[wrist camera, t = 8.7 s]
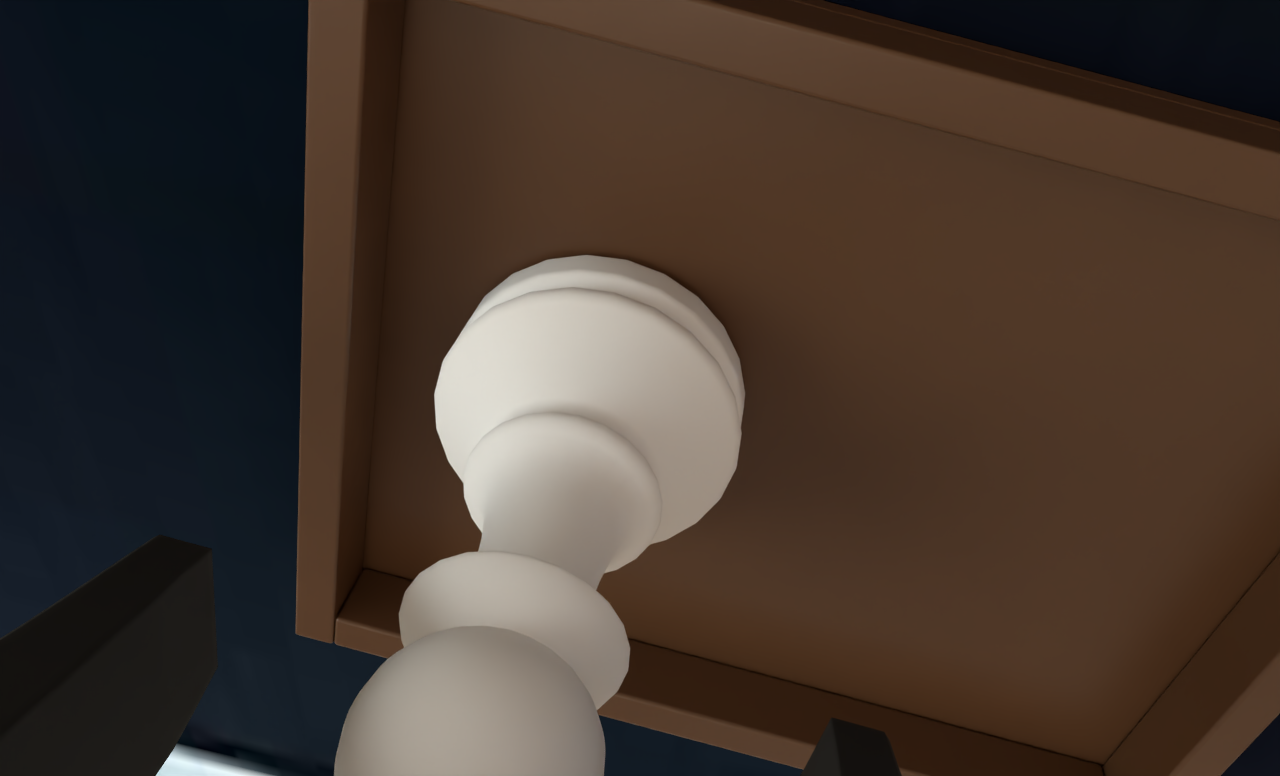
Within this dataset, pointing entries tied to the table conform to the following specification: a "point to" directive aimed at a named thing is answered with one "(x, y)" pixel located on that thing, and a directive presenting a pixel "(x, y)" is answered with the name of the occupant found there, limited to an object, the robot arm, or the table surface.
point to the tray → (831, 365)
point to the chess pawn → (550, 517)
